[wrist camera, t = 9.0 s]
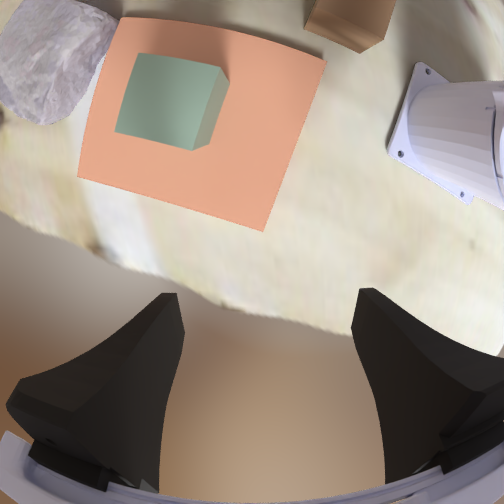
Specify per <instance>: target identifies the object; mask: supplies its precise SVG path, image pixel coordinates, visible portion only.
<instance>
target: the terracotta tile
mask: <svg viewBox="0 0 504 504" xmlns="http://www.w3.org/2000/svg"><path fill="white" fill-rule="evenodd" d="M138 53H146V54H154V55H161V56H168V57H174V58H180V59H185V60H190V61H195V62H200V63H205V64H209V65H214V66H218V67H221V69H222V71H223V72H224V74H225V76H226V78H227V79H228V81H229V83H230V85H229V88H228V91H227V93H226V96H225V99H224V102H223V105H222V107H221V110H220V113H219V116H218V119H217V122H216V125H215V128H214V131H213V134H212V137H211V140H210V143H209V144H208V145H206V146H203V147H201V148H198V149H196V150H193V151H190V150H186V149H182V148H179V147H175V146H171V145H167V144H163V143H159V142H155V141H151V140H147V139H143V138H139V137H134V136H130V135H125V134H121V133H116V132H114V131H115V126H116V122H117V119H118V115H119V111H120V107H121V104H122V100H123V97H124V94H125V90H126V87H127V84H128V81H129V78H130V75H131V72H132V69H133V66H134V63H135V61H136V58H137V55H138ZM326 63H327V61H324V60H322V59H320V58H317V57H315V56H312V55H310V54H307V53H304V52H302V51H299V50H296V49H294V48H291V47H288V46H285V45H282V44H279V43H276V42H273V41H269V40H266V39H263V38H259V37H256V36H252V35H248V34H244V33H240V32H236V31H232V30H227V29H223V28H218V27H213V26H208V25H202V24H196V23H189V22H182V21H174V20H164V19H153V18H133V17H122V18H121V20H120V22H119V24H118V27H117V29H116V31H115V34H114V36H113V39H112V41H111V44H110V46H109V49H108V52H107V54H106V57H105V60H104V63H103V66H102V69H101V72H100V75H99V78H98V82H97V85H96V88H95V92H94V95H93V99H92V103H91V107H90V111H89V115H88V119H87V124H86V128H85V133H84V138H83V143H82V149H81V155H80V161H79V167H78V175H77V177H80V178H84V179H87V180H91V181H95V182H98V183H102V184H105V185H109V186H113V187H116V188H120V189H123V190H127V191H130V192H134V193H137V194H141V195H144V196H147V197H151V198H154V199H158V200H161V201H164V202H168V203H171V204H174V205H178V206H181V207H184V208H188V209H191V210H194V211H198V212H201V213H204V214H207V215H211V216H214V217H217V218H220V219H224V220H227V221H230V222H233V223H236V224H240V225H243V226H246V227H249V228H252V229H255V230H259V231H262V232H263V231H264V228H265V225H266V223H267V220H268V217H269V215H270V212H271V209H272V207H273V204H274V202H275V199H276V196H277V194H278V191H279V188H280V186H281V183H282V180H283V178H284V175H285V172H286V170H287V167H288V165H289V162H290V159H291V157H292V154H293V151H294V149H295V146H296V143H297V141H298V138H299V135H300V133H301V130H302V127H303V125H304V122H305V119H306V117H307V114H308V111H309V109H310V106H311V103H312V101H313V98H314V95H315V93H316V90H317V87H318V85H319V82H320V79H321V77H322V74H323V71H324V69H325V66H326Z"/></svg>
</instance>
